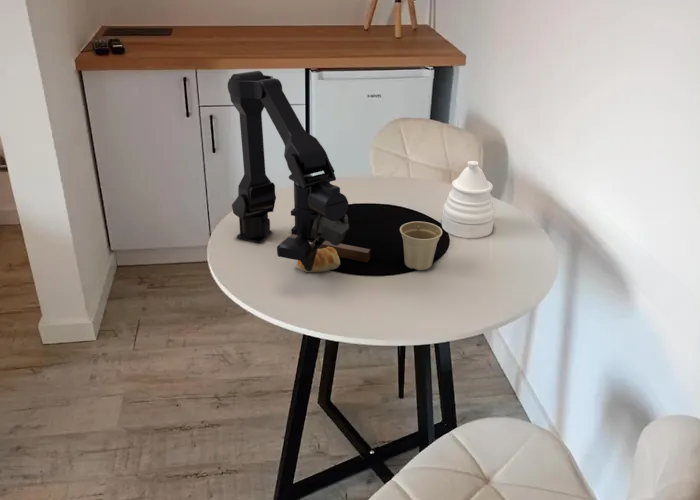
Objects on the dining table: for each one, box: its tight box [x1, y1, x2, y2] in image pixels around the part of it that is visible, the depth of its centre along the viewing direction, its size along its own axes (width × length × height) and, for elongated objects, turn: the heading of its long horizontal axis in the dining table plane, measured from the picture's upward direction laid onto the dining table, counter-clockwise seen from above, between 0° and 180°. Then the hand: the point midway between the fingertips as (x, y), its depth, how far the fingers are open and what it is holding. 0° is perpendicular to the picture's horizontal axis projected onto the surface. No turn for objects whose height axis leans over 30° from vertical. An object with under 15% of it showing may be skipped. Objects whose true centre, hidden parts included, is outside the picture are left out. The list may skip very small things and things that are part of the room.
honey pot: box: [441, 160, 496, 239], centre depth 169 cm, size 13×13×18 cm
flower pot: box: [399, 220, 443, 271], centre depth 153 cm, size 9×9×9 cm
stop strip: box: [288, 233, 371, 263], centre depth 158 cm, size 20×2×2 cm, turn 69°
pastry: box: [296, 246, 341, 273], centre depth 152 cm, size 9×7×4 cm
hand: (308, 270), depth 148 cm, fingers closed
